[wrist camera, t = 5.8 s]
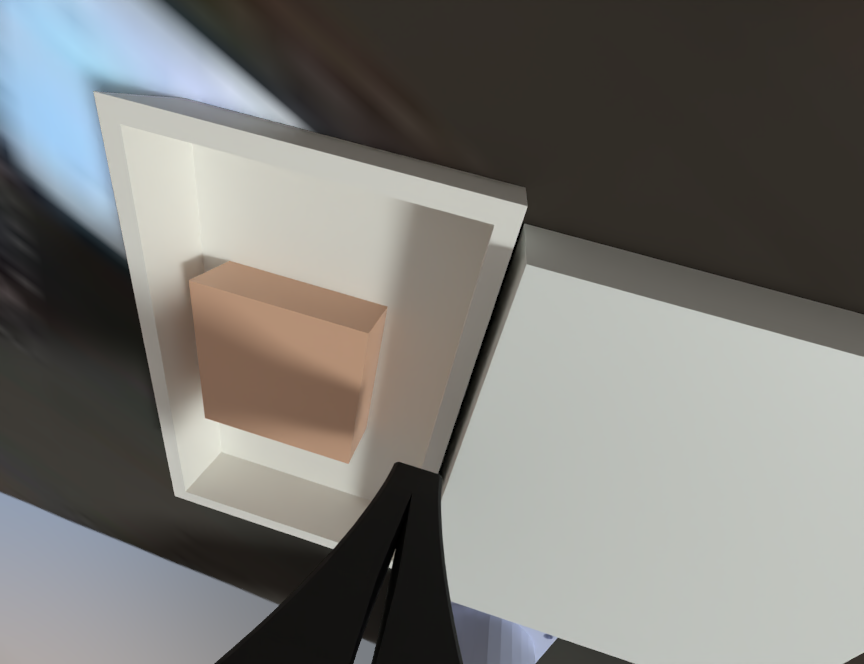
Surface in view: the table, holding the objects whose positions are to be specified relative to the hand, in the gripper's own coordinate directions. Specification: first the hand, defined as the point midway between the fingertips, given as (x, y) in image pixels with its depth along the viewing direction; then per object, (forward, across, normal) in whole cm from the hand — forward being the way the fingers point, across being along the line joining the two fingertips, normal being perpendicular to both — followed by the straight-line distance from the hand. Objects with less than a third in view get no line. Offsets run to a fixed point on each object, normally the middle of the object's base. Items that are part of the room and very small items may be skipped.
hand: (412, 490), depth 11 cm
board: (+5, -8, 0) cm, 9 cm away
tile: (+2, +6, 0) cm, 6 cm away
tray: (+5, +5, 0) cm, 7 cm away
